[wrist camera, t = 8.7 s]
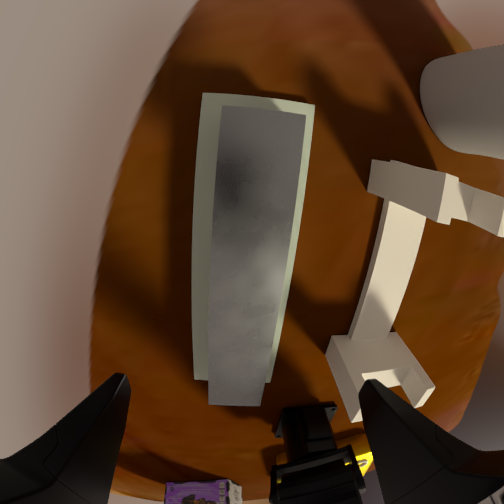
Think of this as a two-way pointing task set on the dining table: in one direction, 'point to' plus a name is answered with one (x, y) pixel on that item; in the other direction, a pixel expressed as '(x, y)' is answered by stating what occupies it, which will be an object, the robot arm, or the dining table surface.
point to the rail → (250, 246)
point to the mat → (204, 214)
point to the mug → (467, 100)
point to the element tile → (358, 446)
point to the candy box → (203, 492)
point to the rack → (400, 276)
